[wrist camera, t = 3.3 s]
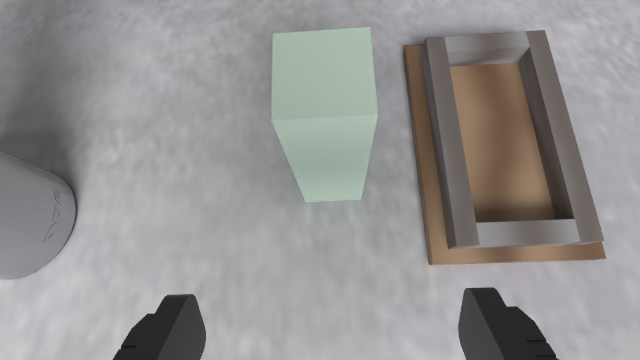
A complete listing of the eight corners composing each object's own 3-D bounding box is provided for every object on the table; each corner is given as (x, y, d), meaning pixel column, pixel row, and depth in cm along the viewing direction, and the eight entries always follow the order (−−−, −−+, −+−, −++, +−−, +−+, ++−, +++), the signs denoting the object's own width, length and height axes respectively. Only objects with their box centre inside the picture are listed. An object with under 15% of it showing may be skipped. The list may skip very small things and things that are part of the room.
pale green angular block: (305, 202, 28) (271, 120, 15) (304, 150, 29) (272, 33, 16) (361, 199, 28) (378, 114, 14) (357, 148, 29) (370, 26, 16)
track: (429, 264, 26) (440, 261, 23) (403, 52, 32) (409, 29, 29) (596, 259, 25) (628, 255, 22) (537, 44, 31) (557, 19, 28)
